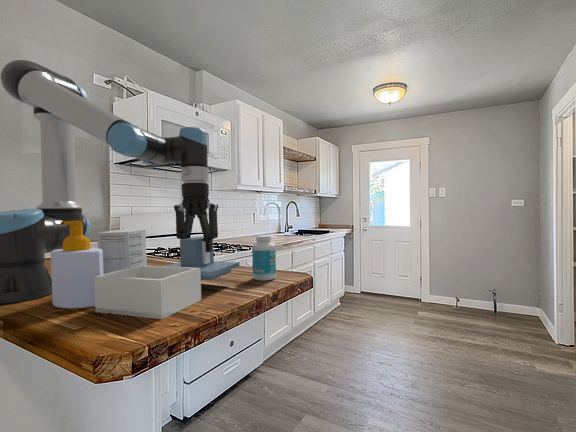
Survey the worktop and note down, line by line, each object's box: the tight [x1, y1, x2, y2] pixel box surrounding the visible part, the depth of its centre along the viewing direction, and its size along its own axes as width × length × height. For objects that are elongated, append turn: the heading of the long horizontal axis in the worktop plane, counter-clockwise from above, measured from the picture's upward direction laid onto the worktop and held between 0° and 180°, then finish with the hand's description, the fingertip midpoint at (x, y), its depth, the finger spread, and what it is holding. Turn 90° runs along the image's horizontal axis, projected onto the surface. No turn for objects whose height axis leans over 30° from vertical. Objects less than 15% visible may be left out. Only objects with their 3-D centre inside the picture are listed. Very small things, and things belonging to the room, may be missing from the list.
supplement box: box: [96, 229, 148, 274], centre depth 93 cm, size 10×9×17 cm
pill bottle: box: [251, 235, 277, 281], centre depth 102 cm, size 8×7×14 cm
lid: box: [167, 236, 240, 281], centre depth 93 cm, size 19×15×11 cm
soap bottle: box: [50, 221, 104, 310], centre depth 78 cm, size 13×8×20 cm, turn 75°
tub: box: [94, 265, 202, 320], centre depth 75 cm, size 18×14×8 cm
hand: (197, 263), depth 93 cm, fingers closed on lid, 5 cm apart
